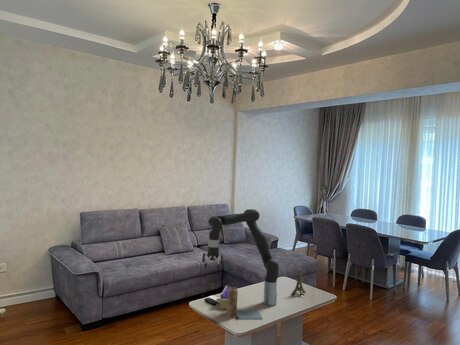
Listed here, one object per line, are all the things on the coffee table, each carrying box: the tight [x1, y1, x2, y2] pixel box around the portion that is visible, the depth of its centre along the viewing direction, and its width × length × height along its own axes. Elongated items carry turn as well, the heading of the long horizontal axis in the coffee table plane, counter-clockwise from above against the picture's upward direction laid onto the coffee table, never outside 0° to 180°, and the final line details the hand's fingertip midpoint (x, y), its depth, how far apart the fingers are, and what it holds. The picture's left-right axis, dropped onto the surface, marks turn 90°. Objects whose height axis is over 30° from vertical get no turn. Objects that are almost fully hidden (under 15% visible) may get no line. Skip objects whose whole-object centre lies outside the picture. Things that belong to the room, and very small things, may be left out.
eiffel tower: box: [291, 268, 307, 296], centre depth 284 cm, size 11×11×25 cm
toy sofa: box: [219, 285, 229, 310], centre depth 258 cm, size 21×9×10 cm, turn 168°
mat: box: [236, 309, 263, 320], centre depth 240 cm, size 17×14×2 cm
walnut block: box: [226, 286, 239, 318], centre depth 238 cm, size 6×8×18 cm
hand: (212, 268), depth 240 cm, fingers open, 8 cm apart
